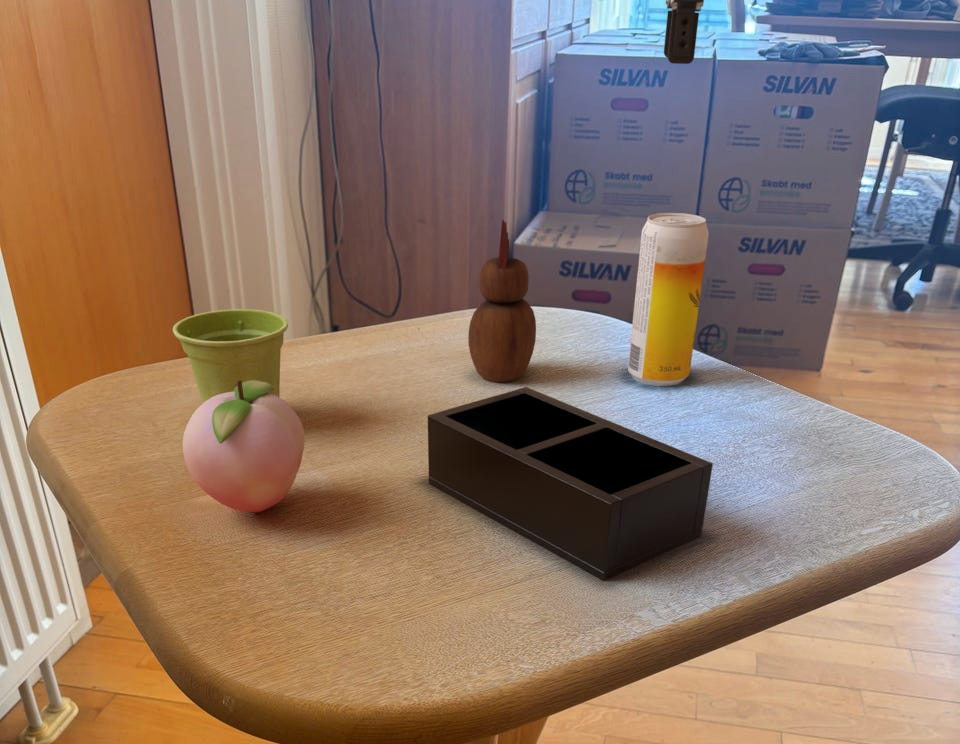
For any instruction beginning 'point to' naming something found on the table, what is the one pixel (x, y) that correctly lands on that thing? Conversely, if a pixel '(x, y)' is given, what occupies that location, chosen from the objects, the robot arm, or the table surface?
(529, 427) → the divided box
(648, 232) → the beer can
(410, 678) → the table surface
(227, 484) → the decorative fruit
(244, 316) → the plant pot
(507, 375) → the wooden figurine
